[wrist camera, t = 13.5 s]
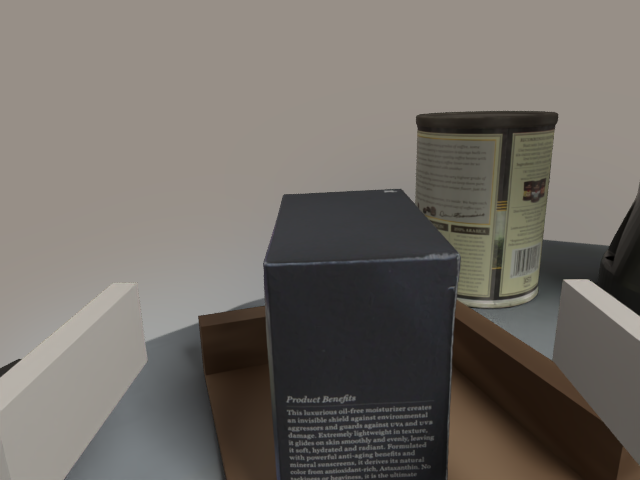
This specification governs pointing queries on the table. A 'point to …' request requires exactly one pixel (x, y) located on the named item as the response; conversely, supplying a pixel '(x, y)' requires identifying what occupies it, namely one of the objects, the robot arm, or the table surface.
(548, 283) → the table surface
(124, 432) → the table surface
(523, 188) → the coffee can
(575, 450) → the corner tray
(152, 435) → the table surface
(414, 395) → the small box
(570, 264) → the table surface
